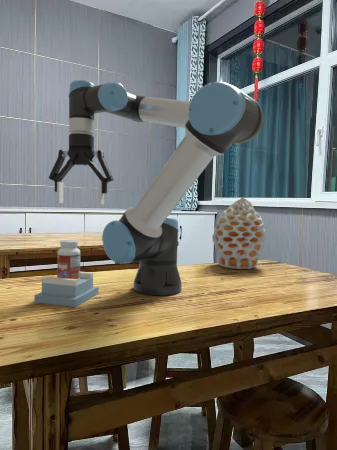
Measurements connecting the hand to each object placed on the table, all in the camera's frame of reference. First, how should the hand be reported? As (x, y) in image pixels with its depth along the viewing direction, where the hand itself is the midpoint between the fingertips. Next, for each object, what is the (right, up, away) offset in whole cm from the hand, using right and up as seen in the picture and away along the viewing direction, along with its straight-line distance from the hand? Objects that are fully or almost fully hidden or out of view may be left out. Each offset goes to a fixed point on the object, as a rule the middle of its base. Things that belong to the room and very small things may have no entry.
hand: (80, 203), depth 113 cm
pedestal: (-1, -27, -11) cm, 29 cm away
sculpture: (+57, -25, +44) cm, 76 cm away
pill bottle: (0, -22, -12) cm, 25 cm away
